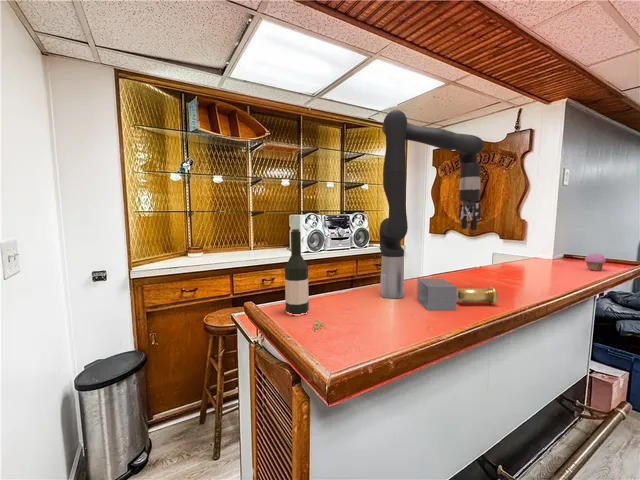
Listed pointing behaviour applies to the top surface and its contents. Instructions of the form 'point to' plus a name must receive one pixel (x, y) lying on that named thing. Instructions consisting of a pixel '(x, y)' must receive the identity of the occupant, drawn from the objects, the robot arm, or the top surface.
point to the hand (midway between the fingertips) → (468, 229)
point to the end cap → (477, 295)
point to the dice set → (317, 325)
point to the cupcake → (595, 261)
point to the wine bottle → (296, 278)
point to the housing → (436, 294)
